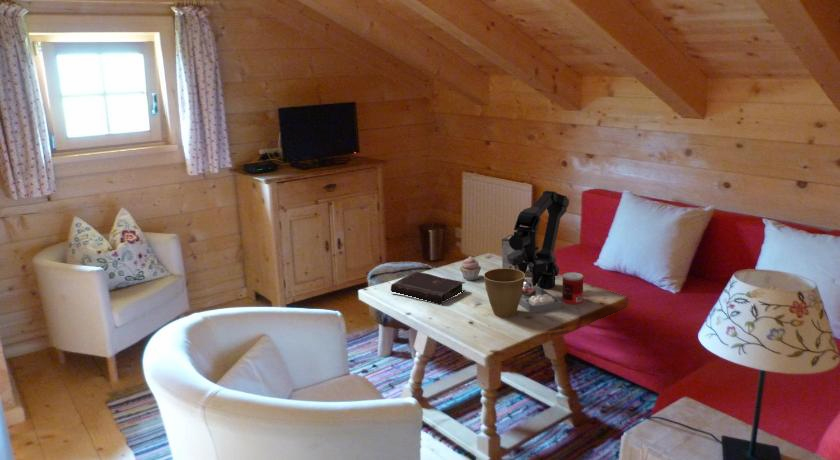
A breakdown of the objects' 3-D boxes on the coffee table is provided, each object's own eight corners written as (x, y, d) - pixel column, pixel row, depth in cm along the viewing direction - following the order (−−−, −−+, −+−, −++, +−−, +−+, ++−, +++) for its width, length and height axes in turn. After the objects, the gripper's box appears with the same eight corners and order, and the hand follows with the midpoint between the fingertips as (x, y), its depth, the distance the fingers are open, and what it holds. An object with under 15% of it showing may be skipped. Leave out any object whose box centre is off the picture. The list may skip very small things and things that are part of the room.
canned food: (583, 299, 257) (584, 272, 254) (581, 307, 250) (582, 279, 247) (563, 298, 260) (564, 271, 257) (560, 305, 252) (561, 278, 250)
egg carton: (547, 303, 253) (547, 292, 252) (554, 307, 248) (554, 296, 247) (528, 306, 250) (528, 295, 249) (535, 310, 246) (535, 299, 245)
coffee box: (510, 268, 297) (510, 234, 293) (524, 270, 294) (524, 235, 290) (501, 274, 290) (501, 239, 286) (515, 276, 287) (515, 240, 282)
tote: (534, 292, 267) (534, 284, 266) (561, 310, 248) (561, 301, 247) (506, 296, 263) (506, 288, 262) (531, 315, 244) (531, 306, 243)
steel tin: (531, 294, 262) (531, 278, 260) (538, 299, 257) (538, 282, 255) (518, 296, 260) (518, 280, 259) (525, 301, 255) (525, 284, 253)
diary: (441, 307, 257) (440, 295, 256) (391, 295, 272) (390, 284, 271) (466, 291, 272) (466, 280, 271) (417, 281, 286) (417, 270, 285)
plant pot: (481, 309, 252) (480, 269, 247) (519, 306, 253) (519, 267, 248) (488, 324, 237) (487, 282, 233) (529, 321, 238) (529, 279, 234)
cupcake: (469, 273, 293) (469, 251, 290) (485, 277, 286) (485, 255, 284) (455, 278, 287) (454, 256, 284) (471, 283, 280) (470, 260, 278)
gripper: (498, 240, 259) (499, 278, 263) (521, 252, 242) (521, 293, 246) (524, 236, 262) (524, 274, 266) (548, 248, 245) (547, 288, 249)
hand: (528, 282), depth 257 cm, fingers open, 9 cm apart
